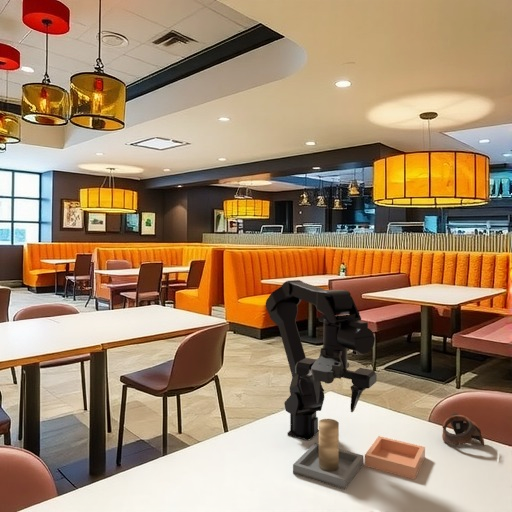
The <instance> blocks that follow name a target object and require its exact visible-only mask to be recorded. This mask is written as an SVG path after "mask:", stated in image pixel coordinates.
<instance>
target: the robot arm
mask: <svg viewBox="0 0 512 512" xmlns="http://www.w3.org/2000/svg"><path fill="white" fill-rule="evenodd" d="M302 301H304V302H307V303H309V304H312V305H313V306H315V308H316V310H317V311H318V312H320V314H322V315H321V316H320V317H318V321H319V322H321V323H323V328H322V329H323V337H322V338H323V340H322V343H323V344H322V347H321V348H320V353H319V357H318V358H317V359H316V358H310V357H307V356H306V353H305V350H304V347H303V343H302V340H301V337H300V332H299V330H298V326H297V323H296V321H297V320H296V319H297V316H298V312H299V309H298V307H299V306H298V305H300V303H301V302H302ZM265 307H266V311H267V313H268V315H269V318H270V320H271V321H272V322H274V324H275V325H276V326H277V327H278V329H279V334H280V337H281V340H282V344H283V348H284V352H285V355H286V359H287V361H288V365H289V370H290V373H291V381H290V385H289V393H290V395H289V396H288V398H287V399H285V401H284V402H283V403H284V408H285V409H284V410H285V412H287V413H288V414H289V415H290V416H289V417H290V418H289V419H290V421H289V422H290V425H289V426H290V427H289V429H290V430H289V431H288V432H287V433H286V434H287V436H291V437H294V438H297V439H302V440H305V441H311V439H313V438H314V437H315V436H316V435H317V434H319V418H318V416H317V412H319V411H322V408H323V405H324V400H325V389H324V387H323V385H322V383H325V384H332V383H333V382H334V381H335V380H336V379H339V380H341V379H342V378H343V379H347V380H351V384H352V385H351V386H350V390H351V397H350V412H351V413H353V412H355V409H356V407H357V404H358V402H359V401H360V398H361V396H362V393H363V391H365V390H366V389H370V388H372V387H373V386H374V385H375V384H376V383H377V380H378V379H377V377H378V376H377V373H376V372H375V370H373V369H369V368H364V367H359V368H358V369H356V370H349V369H348V368H350V363H349V362H348V351H353V352H357V353H358V354H362V355H365V354H368V353H369V352H370V351H372V349H373V347H374V346H375V341H376V340H375V339H376V337H375V336H374V333H373V330H372V329H370V328H369V323H368V322H366V321H362V316H361V315H360V311H359V309H358V307H357V306H356V303H355V301H354V299H353V297H352V295H351V293H350V291H349V290H346V289H324V288H322V287H318V286H316V285H312V284H310V283H306V282H304V281H303V280H299V279H295V280H286V281H284V282H283V283H282V285H281V286H280V287H278V288H277V289H275V290H273V291H272V292H271V293H270V295H269V296H268V297H267V299H266V300H265Z"/></svg>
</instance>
